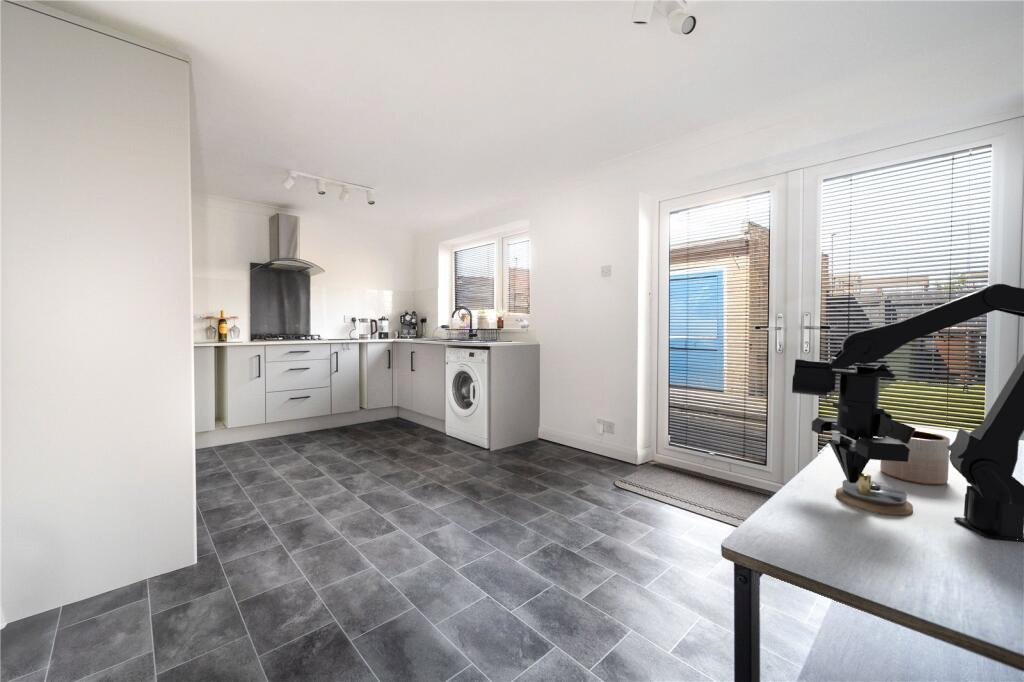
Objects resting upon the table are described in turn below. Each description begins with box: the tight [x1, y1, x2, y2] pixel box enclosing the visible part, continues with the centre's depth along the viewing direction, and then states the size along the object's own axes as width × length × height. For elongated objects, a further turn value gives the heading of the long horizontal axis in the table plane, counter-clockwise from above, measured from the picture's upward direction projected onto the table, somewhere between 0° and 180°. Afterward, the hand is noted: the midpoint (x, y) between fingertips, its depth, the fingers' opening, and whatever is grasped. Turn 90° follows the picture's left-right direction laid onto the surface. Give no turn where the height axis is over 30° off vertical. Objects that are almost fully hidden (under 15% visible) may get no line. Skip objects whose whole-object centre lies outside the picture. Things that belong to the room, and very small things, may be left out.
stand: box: [835, 487, 914, 517], centre depth 81 cm, size 11×11×2 cm
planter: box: [880, 429, 951, 486], centre depth 94 cm, size 11×11×10 cm
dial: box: [842, 472, 908, 506], centre depth 81 cm, size 9×9×5 cm
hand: (852, 482), depth 80 cm, fingers closed
